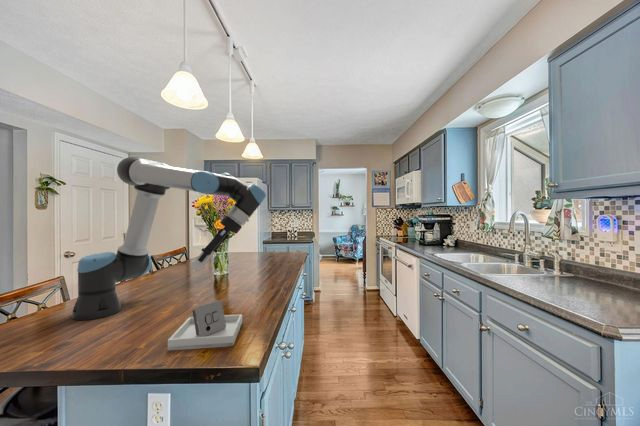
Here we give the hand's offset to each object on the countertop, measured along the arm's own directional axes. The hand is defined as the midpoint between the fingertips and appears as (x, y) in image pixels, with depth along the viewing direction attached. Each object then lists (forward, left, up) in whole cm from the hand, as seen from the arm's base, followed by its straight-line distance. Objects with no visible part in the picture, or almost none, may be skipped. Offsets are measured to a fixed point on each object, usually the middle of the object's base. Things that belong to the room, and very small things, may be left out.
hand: (197, 266), depth 101 cm
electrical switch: (+13, +7, -19) cm, 24 cm away
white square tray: (+13, +8, -20) cm, 25 cm away
